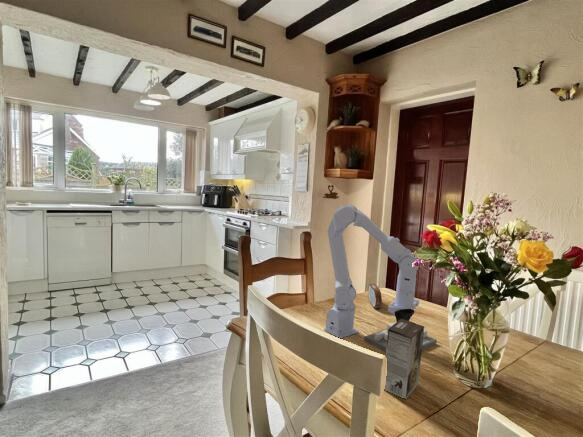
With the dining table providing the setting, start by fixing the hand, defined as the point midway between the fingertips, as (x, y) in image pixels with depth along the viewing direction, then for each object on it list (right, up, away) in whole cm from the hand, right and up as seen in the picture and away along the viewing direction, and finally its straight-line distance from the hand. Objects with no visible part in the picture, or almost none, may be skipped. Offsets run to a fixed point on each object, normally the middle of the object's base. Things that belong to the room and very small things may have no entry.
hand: (401, 329), depth 109 cm
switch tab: (-3, -3, -2) cm, 4 cm away
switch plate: (0, -4, +1) cm, 4 cm away
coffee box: (-8, -7, -25) cm, 27 cm away
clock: (0, -1, +35) cm, 35 cm away
